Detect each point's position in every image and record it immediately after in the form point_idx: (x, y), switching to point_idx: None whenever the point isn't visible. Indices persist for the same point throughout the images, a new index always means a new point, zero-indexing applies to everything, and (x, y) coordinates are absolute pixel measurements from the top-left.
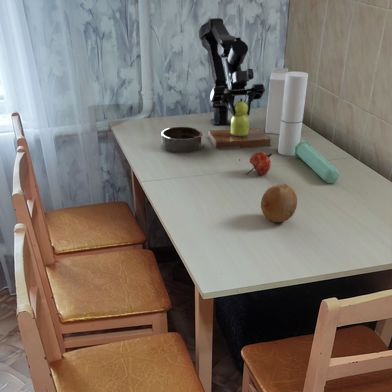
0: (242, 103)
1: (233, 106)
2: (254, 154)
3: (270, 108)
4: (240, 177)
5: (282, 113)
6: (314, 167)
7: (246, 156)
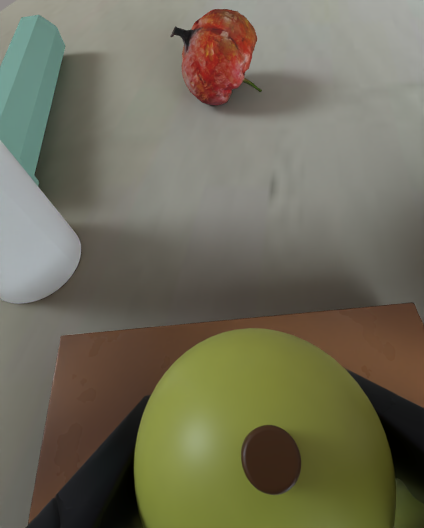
0: (246, 360)
1: (409, 425)
2: (240, 15)
3: None
4: (281, 79)
5: None
6: (52, 72)
7: (236, 222)
